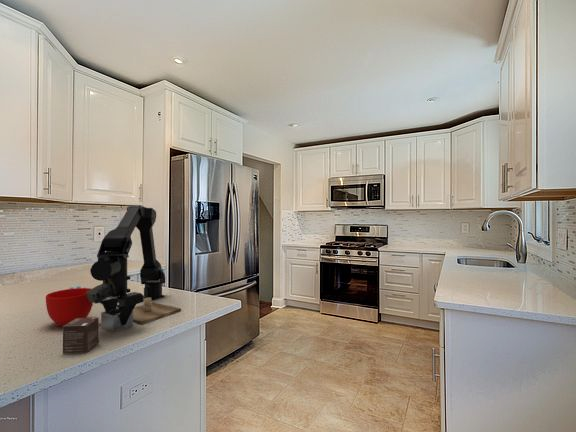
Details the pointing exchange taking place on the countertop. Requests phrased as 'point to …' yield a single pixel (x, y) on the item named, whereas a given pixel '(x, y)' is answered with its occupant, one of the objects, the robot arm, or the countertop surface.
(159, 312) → the post base
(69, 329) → the box
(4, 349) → the countertop surface
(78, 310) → the ceramic cup
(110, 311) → the square tube
